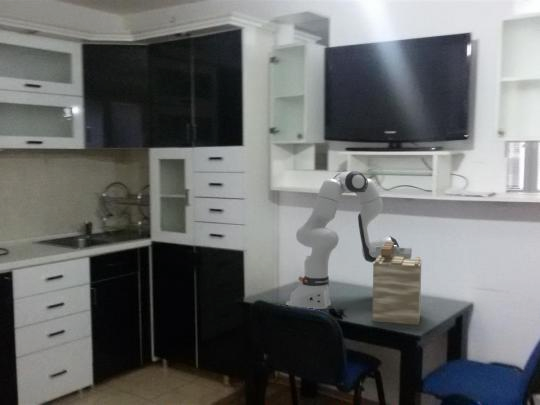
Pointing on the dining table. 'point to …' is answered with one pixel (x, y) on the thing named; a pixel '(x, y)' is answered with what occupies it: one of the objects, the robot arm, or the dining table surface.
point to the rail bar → (387, 250)
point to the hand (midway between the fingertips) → (389, 246)
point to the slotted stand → (397, 290)
